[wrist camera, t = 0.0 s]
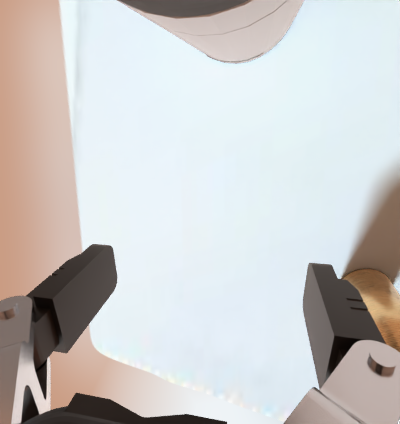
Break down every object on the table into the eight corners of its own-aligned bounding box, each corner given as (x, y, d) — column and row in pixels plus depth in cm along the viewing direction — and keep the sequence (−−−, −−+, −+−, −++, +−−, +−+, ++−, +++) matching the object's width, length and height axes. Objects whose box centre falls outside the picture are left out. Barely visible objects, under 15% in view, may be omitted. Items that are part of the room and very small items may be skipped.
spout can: (343, 266, 29) (393, 374, 18) (397, 271, 28) (484, 387, 17) (334, 304, 31) (375, 422, 20) (384, 310, 30) (455, 436, 19)
